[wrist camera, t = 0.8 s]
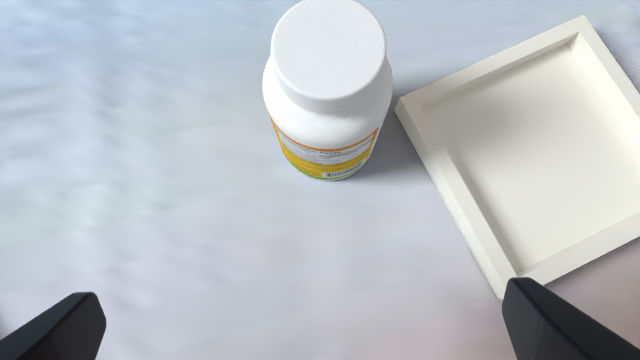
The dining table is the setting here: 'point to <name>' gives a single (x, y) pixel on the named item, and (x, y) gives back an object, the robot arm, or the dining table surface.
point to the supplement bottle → (328, 86)
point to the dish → (534, 153)
